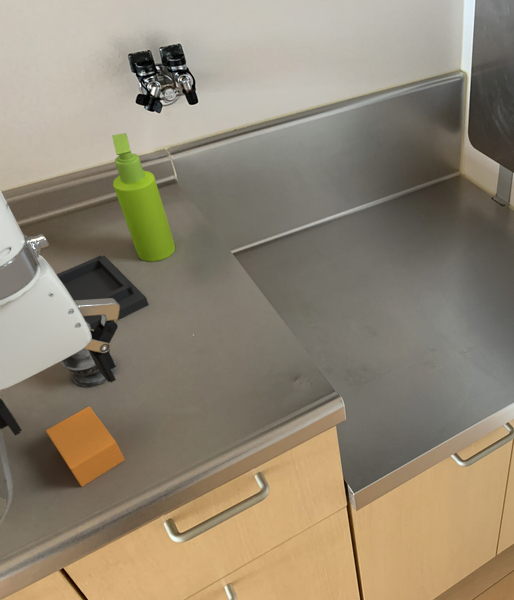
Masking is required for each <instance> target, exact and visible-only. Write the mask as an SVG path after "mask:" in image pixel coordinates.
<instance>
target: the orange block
mask: <svg viewBox="0 0 514 600" xmlns="http://www.w3.org/2000/svg"><path fill="white" fill-rule="evenodd" d="M45 432H46V434H47V436H48V437H49V439H50V440H51V442H52V444H53V445H54V446H55V448H56V450H57V451H58V453H59V455H60V456H61V457H62V459H63V461H64V462H65V463H66V465H67V466H68V468H69V470H70V471H71V473H72V474H73V476H74V478H75V479H76V481H77V483H78V485H80V487H84V486H86V485H88V484H89V483H90V482H92V481H95V480H96V479H97V478H99V477H100V476H102V475H104V474H105V473H107V472H109V471H110V470H112V469H113V468H114V467H116V466H118V465H120V464H121V463H123V462H124V461H126V459H125V457H124V455H123V453H122V451H121V449H120V447H119V445H118V443H117V442H116V440H115V439H114V437H113V436H112V435H111V433H110V431H108V429H107V428H106V426H105V425H104V423H103V422H102V421H101V420H100V418H99V417H98V415H97V414H96V413H95V411H94V409H92V407H91V406H90V405H89V406H87V407H85V408H83V409H81V410H79V411H78V412H76V413H74V414H73V415H71V416H69V417H67V418H66V419H63V420H62V421H60V422H58V423H56V424H54V425H53V426H50V427H49V428H47V429H46V430H45Z"/></svg>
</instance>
